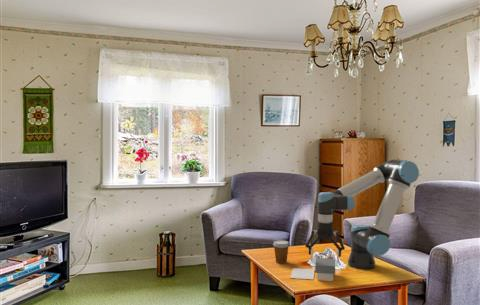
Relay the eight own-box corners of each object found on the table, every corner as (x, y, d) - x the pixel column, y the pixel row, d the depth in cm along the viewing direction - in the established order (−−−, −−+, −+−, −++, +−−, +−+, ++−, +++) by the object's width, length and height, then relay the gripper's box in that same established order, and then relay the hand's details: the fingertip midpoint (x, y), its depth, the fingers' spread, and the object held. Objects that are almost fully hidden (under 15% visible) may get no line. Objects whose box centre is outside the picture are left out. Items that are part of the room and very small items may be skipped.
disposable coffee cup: (287, 265, 235) (287, 244, 235) (271, 263, 238) (271, 243, 238) (291, 260, 244) (290, 240, 244) (275, 259, 247) (275, 239, 247)
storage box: (333, 273, 220) (333, 261, 219) (333, 281, 209) (333, 267, 208) (317, 272, 221) (317, 260, 221) (317, 280, 210) (317, 266, 210)
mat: (314, 270, 226) (314, 269, 226) (313, 280, 210) (313, 279, 210) (293, 268, 229) (293, 268, 229) (290, 278, 213) (290, 277, 213)
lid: (335, 266, 220) (334, 258, 220) (335, 274, 207) (335, 266, 207) (316, 265, 222) (316, 257, 222) (315, 272, 210) (315, 265, 209)
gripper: (300, 221, 213) (300, 261, 214) (350, 224, 208) (349, 265, 208) (301, 219, 220) (301, 257, 221) (349, 221, 215) (348, 261, 216)
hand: (324, 261), depth 215 cm, fingers open, 13 cm apart
